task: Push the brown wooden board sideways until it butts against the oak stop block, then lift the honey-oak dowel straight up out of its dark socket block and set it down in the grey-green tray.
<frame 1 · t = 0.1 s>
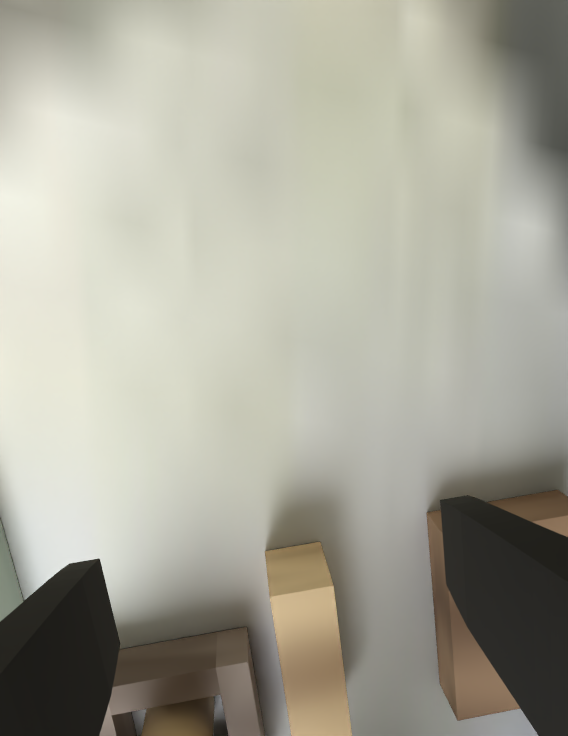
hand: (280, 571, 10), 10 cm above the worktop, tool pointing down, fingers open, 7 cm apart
brown wooden board: (492, 584, 23), on the worktop
stop block: (303, 626, 22), on the worktop
socket block: (181, 706, 23), on the worktop
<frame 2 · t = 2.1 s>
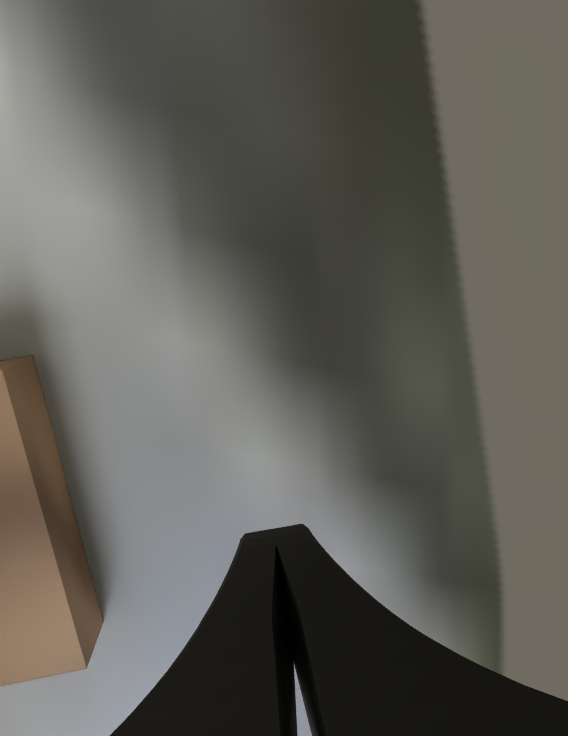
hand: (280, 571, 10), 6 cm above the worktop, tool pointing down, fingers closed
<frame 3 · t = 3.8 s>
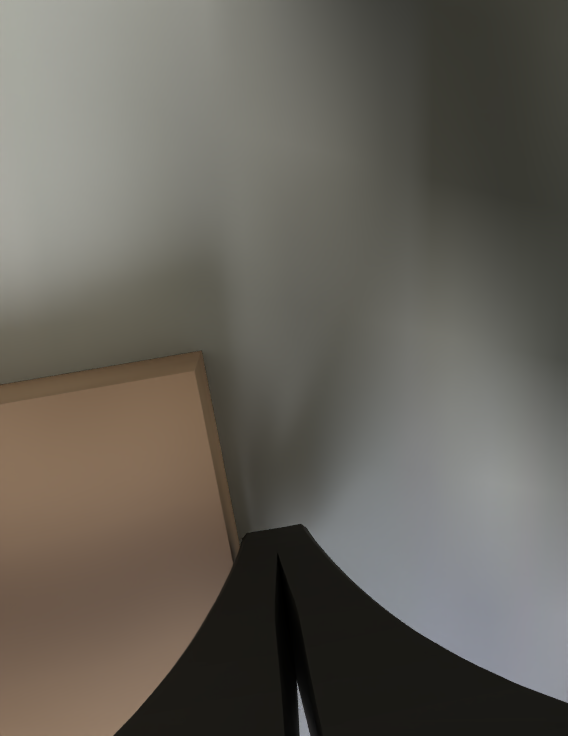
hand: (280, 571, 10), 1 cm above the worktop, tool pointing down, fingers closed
brown wooden board: (112, 553, 12), on the worktop, touching gripper
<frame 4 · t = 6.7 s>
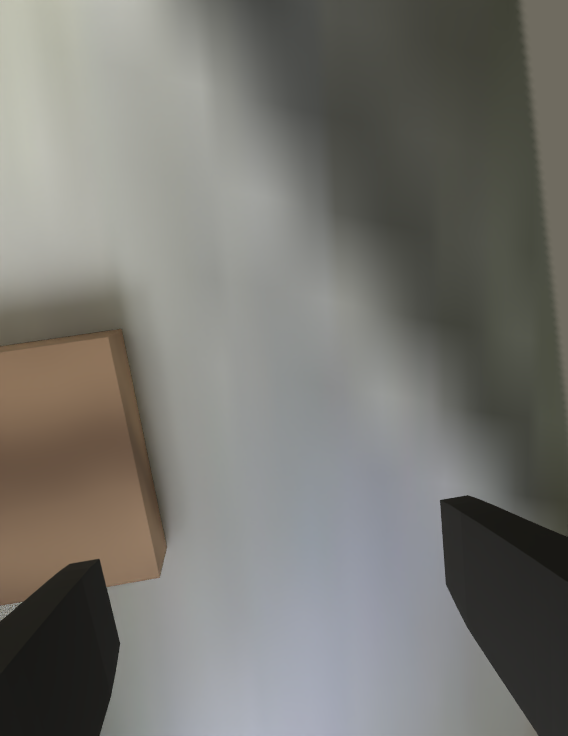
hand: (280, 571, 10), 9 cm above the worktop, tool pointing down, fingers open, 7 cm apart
brown wooden board: (69, 452, 20), on the worktop
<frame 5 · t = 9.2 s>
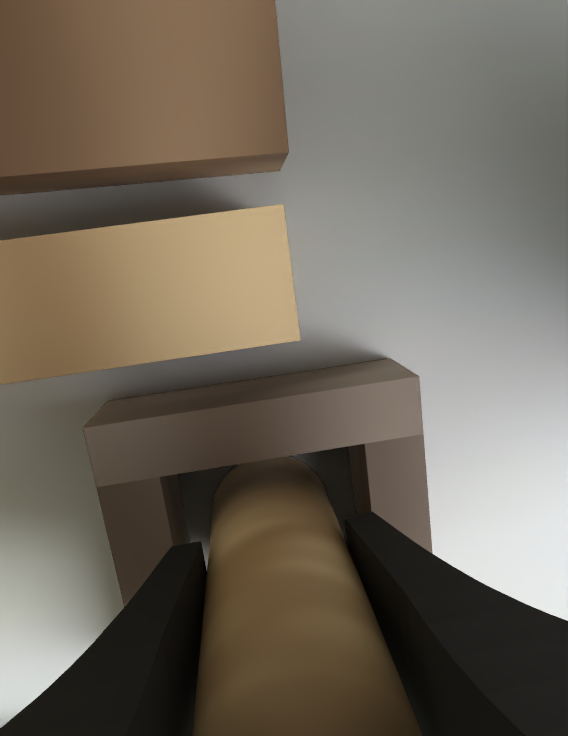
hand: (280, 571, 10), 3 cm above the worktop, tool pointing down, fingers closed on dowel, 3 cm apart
brown wooden board: (57, 45, 11), on the worktop
dowel: (283, 595, 10), in the socket block, touching gripper
stop block: (106, 294, 12), on the worktop
socket block: (271, 508, 13), on the worktop
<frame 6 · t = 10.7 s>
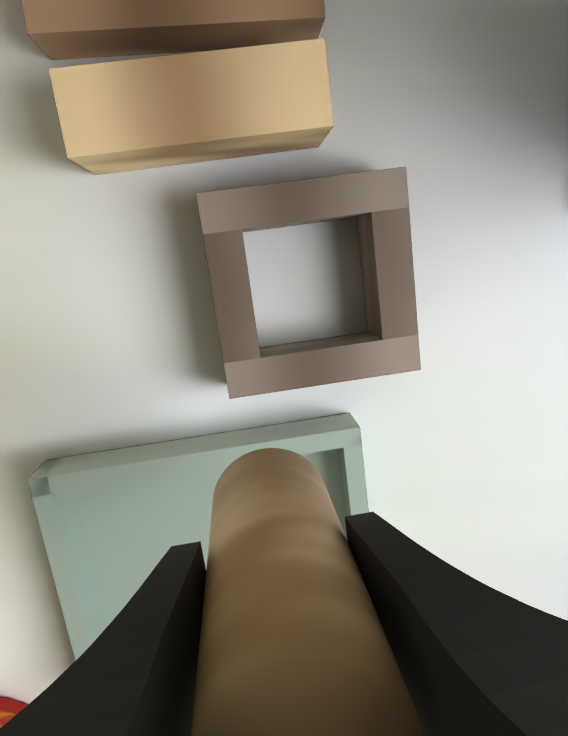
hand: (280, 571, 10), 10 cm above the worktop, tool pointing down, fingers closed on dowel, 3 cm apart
tray: (220, 548, 21), on the worktop
dowel: (282, 585, 10), point 11 cm above the worktop, touching gripper
stop block: (202, 124, 18), on the worktop
socket block: (307, 283, 19), on the worktop
when the fingers open (4 cm above the worktop, at t = 12.5 s): dowel stays where it is, resting on tray.
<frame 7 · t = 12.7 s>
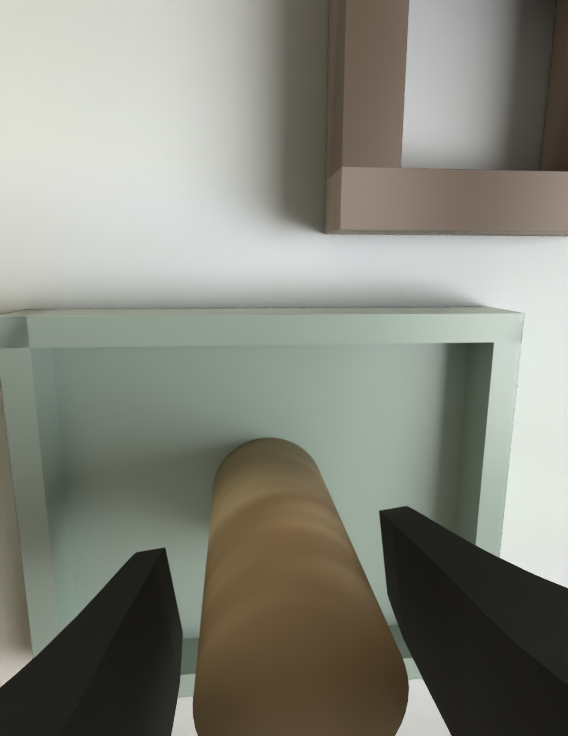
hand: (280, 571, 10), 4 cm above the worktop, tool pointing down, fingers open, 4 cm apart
tray: (267, 486, 14), on the worktop
dowel: (279, 560, 10), in the tray
socket block: (464, 91, 13), on the worktop
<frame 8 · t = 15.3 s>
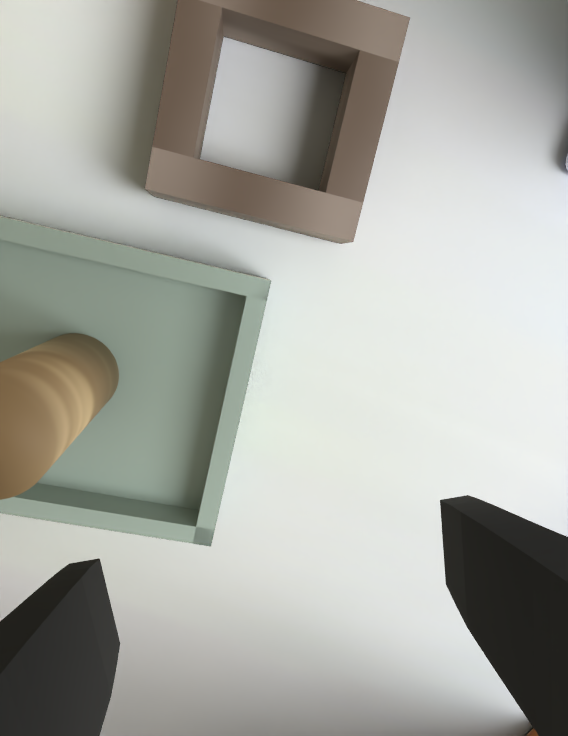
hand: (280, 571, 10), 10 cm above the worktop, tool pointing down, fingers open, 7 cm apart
tray: (81, 374, 19), on the worktop
dowel: (41, 399, 15), in the tray
socket block: (271, 121, 18), on the worktop
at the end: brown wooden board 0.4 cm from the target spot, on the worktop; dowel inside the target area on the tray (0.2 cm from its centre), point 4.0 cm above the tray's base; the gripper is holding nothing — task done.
